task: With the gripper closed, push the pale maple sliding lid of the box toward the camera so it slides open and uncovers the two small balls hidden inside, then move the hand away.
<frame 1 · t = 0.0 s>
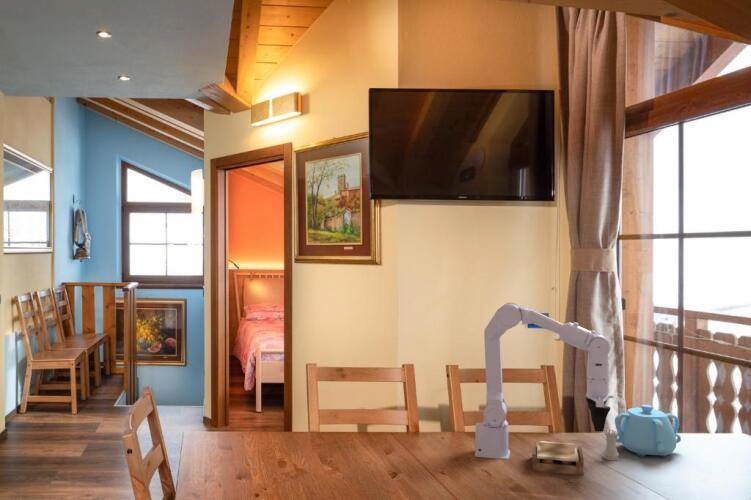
hand: (597, 427, 172), 10 cm above the table, tool pointing down, fingers open, 7 cm apart
ball b: (566, 465, 170), resting on box
lid: (557, 448, 169), point 5 cm above the table, slide at 0.0 cm
ball a: (547, 466, 169), resting on box
rook chess piece: (611, 459, 176), on the table
box: (557, 467, 169), on the table
decorative pot: (646, 452, 183), on the table
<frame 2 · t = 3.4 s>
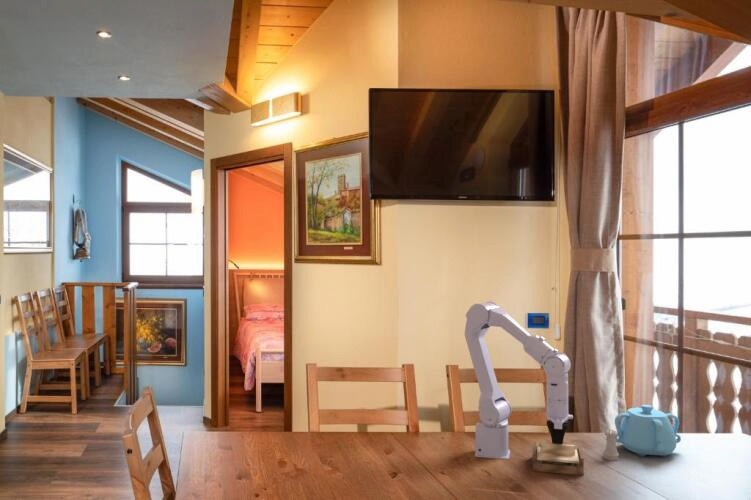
hand: (557, 448, 169), 5 cm above the table, tool pointing down, fingers closed
lid: (557, 450, 168), point 5 cm above the table, slide at 1.3 cm, touching gripper
everything else where it was.
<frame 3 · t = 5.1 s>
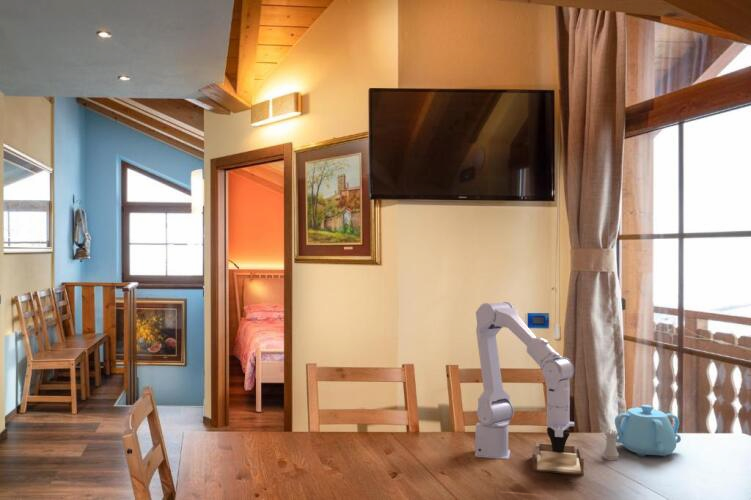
hand: (558, 456, 162), 5 cm above the table, tool pointing down, fingers closed
lid: (558, 458, 161), point 5 cm above the table, slide at 8.6 cm, touching gripper
everything else where it was.
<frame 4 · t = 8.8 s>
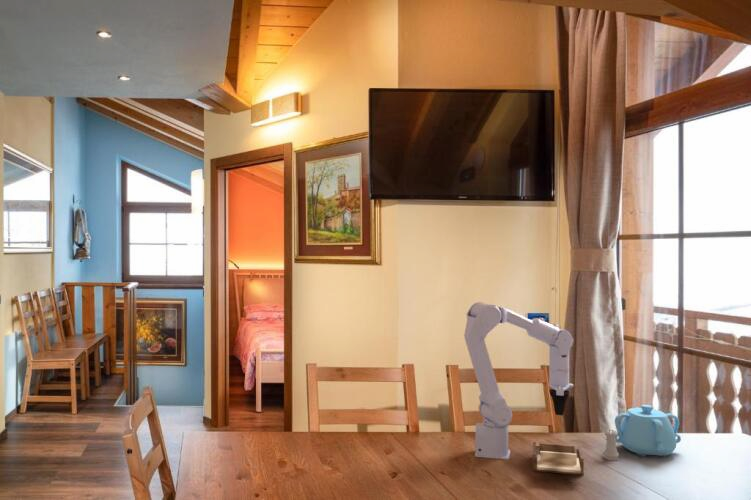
hand: (559, 414, 185), 10 cm above the table, tool pointing down, fingers closed
lid: (558, 458, 161), point 5 cm above the table, slide at 8.6 cm
everything else where it was.
at the end: lid slide at 8.6 cm; lid touching nothing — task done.
